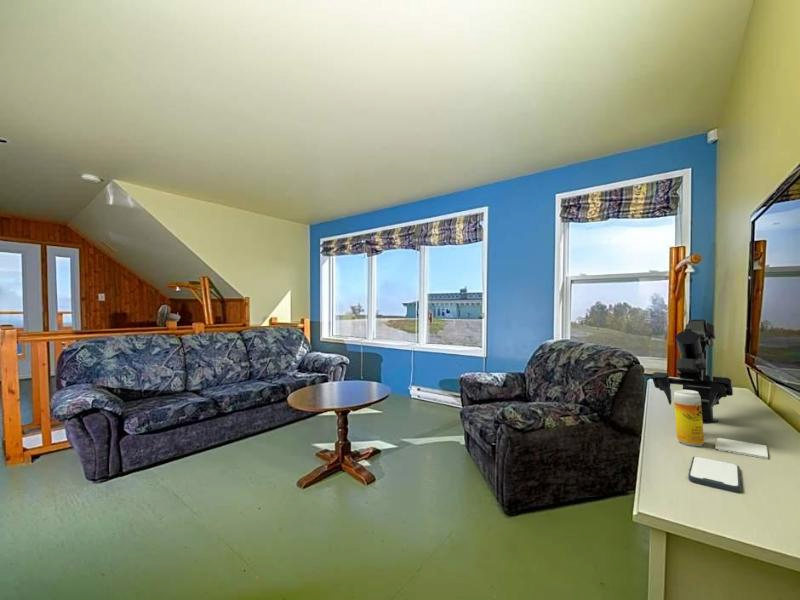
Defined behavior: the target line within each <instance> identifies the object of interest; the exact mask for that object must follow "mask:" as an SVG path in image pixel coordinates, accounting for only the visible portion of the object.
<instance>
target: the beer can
mask: <svg viewBox="0 0 800 600" xmlns="http://www.w3.org/2000/svg"><path fill="white" fill-rule="evenodd" d="M673 398H674V399H673V401H674V411H675V412H674V415H675V425H676V426H675V427H676V428H675V429H676V430H675V431H676V439H677V440H678V441H679V442H681V443H680V444H682V443H683V444H682V445H685V444H686V445H685V446H690V447H701V445H702V446H703V445H704V444H705V435H704V423H703V420H702V408H701V396H700V395H699V392H697V391H693V390H683V389H675V390H674V393H673Z"/></svg>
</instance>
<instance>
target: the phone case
mask: <svg viewBox="0 0 800 600" xmlns="http://www.w3.org/2000/svg"><path fill="white" fill-rule="evenodd" d="M740 473H741V471H740V466H739V465H737V463H736V464H735V463H732V462H727V461H722V460H718V459H717V460H716V459H712V458H707V457H701V456H693V457H692V459H691V463H690V468H689V469H688V475H687V477H688V481H690V482H691V483H693V484H698V485H701V486H707V487H709V488H714V489H719V490H723V491H728V492H731V493H736V494H737V493H738V494H739V493H741V491H742V488H741V486H742V479H741V474H740Z"/></svg>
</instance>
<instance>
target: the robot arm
mask: <svg viewBox="0 0 800 600" xmlns="http://www.w3.org/2000/svg"><path fill="white" fill-rule="evenodd" d="M707 321H708V320H707V319H704V318H695V319H694V318H691V319H688V323H687V324H686V325H685V328H684V329H683V331H680V332H679V333H677V334H676V336H675V344H676V346H677V349H678V351H679V353H680V358H677V359H676V369H677V370H676V375H677V376H678V377H673V376H669V373H668V372H660V371H659V372H658V371H654V372H653V373H651V374H652V376H651V378H652V379H651V380H652V383H653V384H654V385H653V386H654V388H656V389H659V390H660V391H663V393H664V395H665V396H666V398H667V402H668V404H669V405H670V406H671V404H672V402H673V401H672V390H671V385H681V386H682V390H693V391H697V392H699V395H700V396H701V408H702V420H703V424H709V423H715V422H719V419H717V418H714V408H713V407H714V406H716V405H720V400H721V399H722V398H727V396H728V397H731V396H733V395H734V389H733V382H732V379H731V378H730V377H729V376H728V377H727V376H717V375H716V376H715V375H714V376H712V379H711V377H710V375H708V352H709V351H708V350H709V348H710V347H712V346H713V345H714V340H716V337H717V336H716V329H715V326H714V325H713V324H711V323H710V322H707Z"/></svg>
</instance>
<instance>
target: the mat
mask: <svg viewBox="0 0 800 600" xmlns="http://www.w3.org/2000/svg"><path fill="white" fill-rule="evenodd" d="M714 449H715V450H716V449H718V450H717V451H720V450H723V451H722V452H726V451H728V452H727V453H731V452H733V453H732V454H736V453H738V455H742V454H743V455H744V456H747V455H748V457H755V458H760V459H765V460H769V456H768V447H767V445H764V444H759V443H753V442H752V443H751V442H747V441H741V440H734V439H728V438H723V437H722V438H721V437H717V439H716V444H715V448H714ZM743 455H742V456H743Z"/></svg>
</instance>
